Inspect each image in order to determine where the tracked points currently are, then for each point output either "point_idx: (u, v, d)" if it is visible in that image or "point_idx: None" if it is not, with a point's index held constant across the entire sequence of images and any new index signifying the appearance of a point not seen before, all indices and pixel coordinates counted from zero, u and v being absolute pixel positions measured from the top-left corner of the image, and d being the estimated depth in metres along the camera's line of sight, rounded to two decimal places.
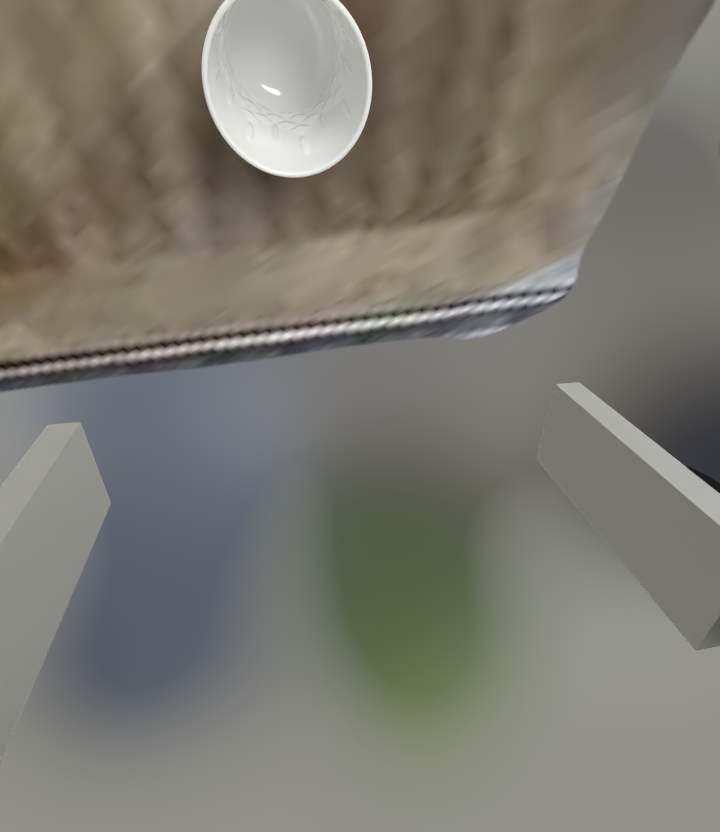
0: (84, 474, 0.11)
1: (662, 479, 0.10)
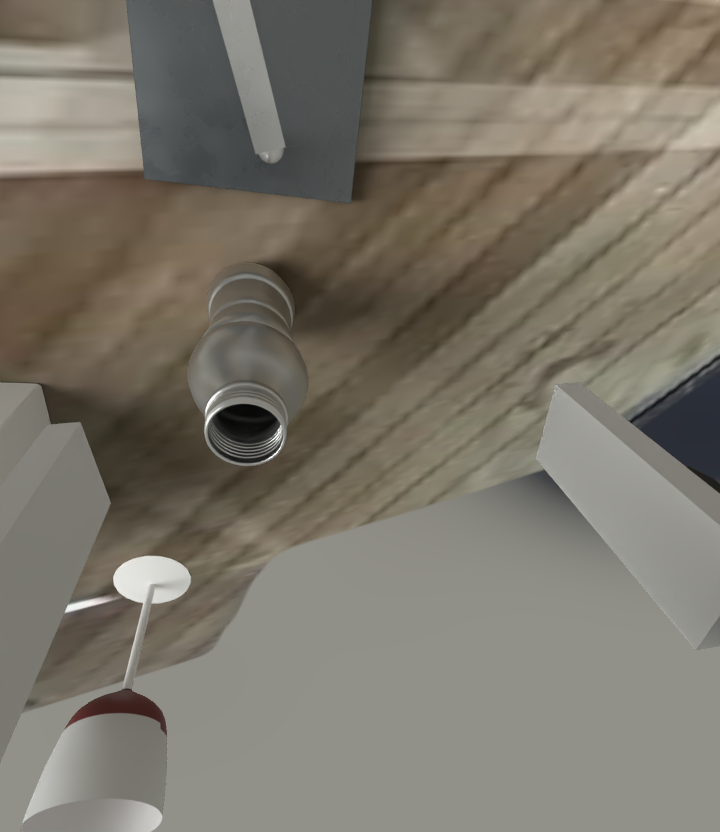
0: (84, 474, 0.11)
1: (662, 479, 0.10)
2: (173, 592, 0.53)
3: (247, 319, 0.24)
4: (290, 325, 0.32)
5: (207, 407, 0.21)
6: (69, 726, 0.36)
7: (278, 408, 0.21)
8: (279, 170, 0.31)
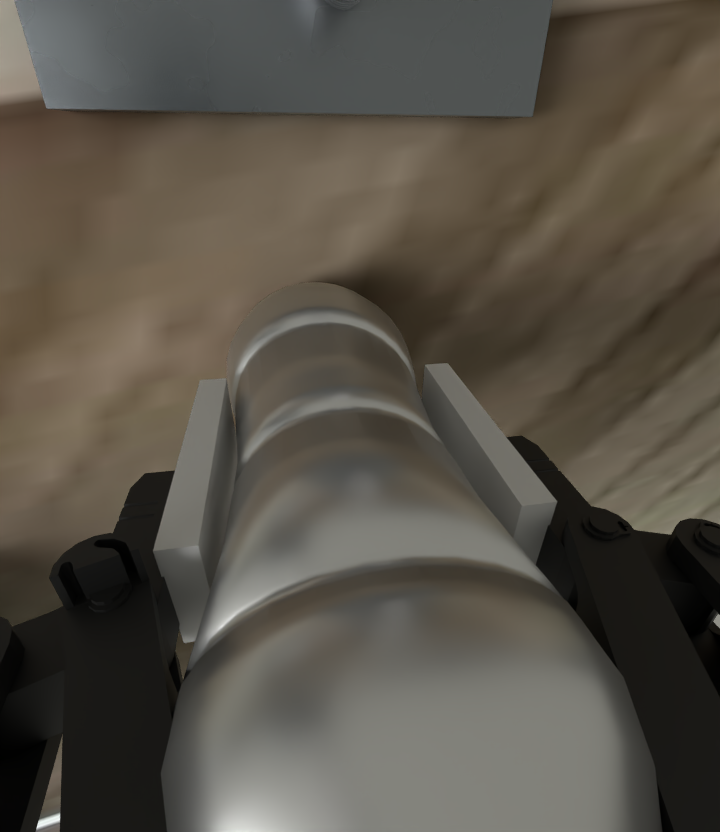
0: (230, 422, 0.13)
1: (478, 443, 0.11)
2: None
3: (385, 544, 0.06)
4: None
5: None
6: None
7: None
8: (370, 47, 0.13)
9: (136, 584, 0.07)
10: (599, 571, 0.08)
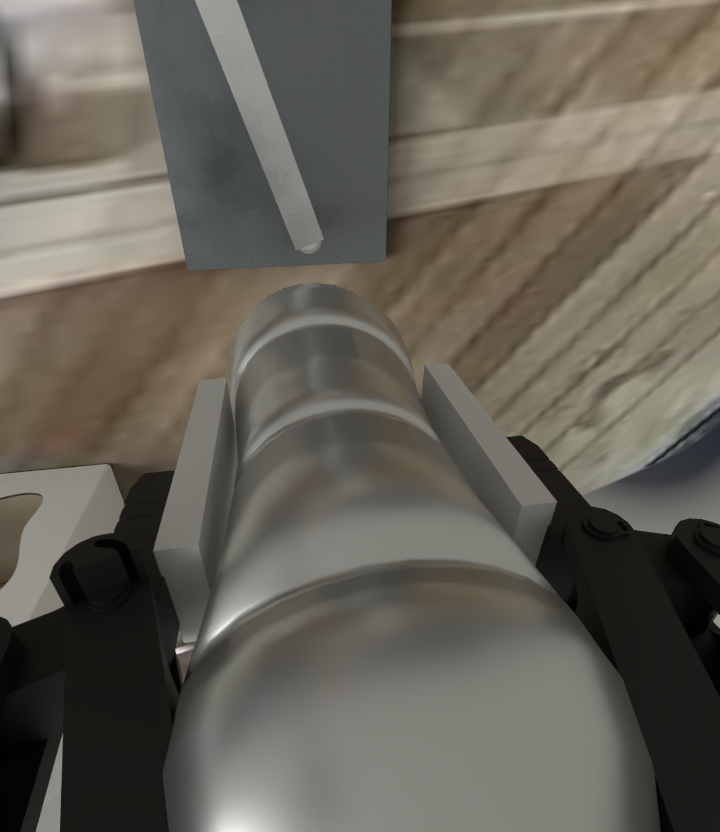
0: (230, 422, 0.13)
1: (478, 443, 0.11)
2: None
3: (385, 546, 0.06)
4: None
5: None
6: None
7: None
8: None
9: (136, 584, 0.07)
10: (599, 571, 0.08)
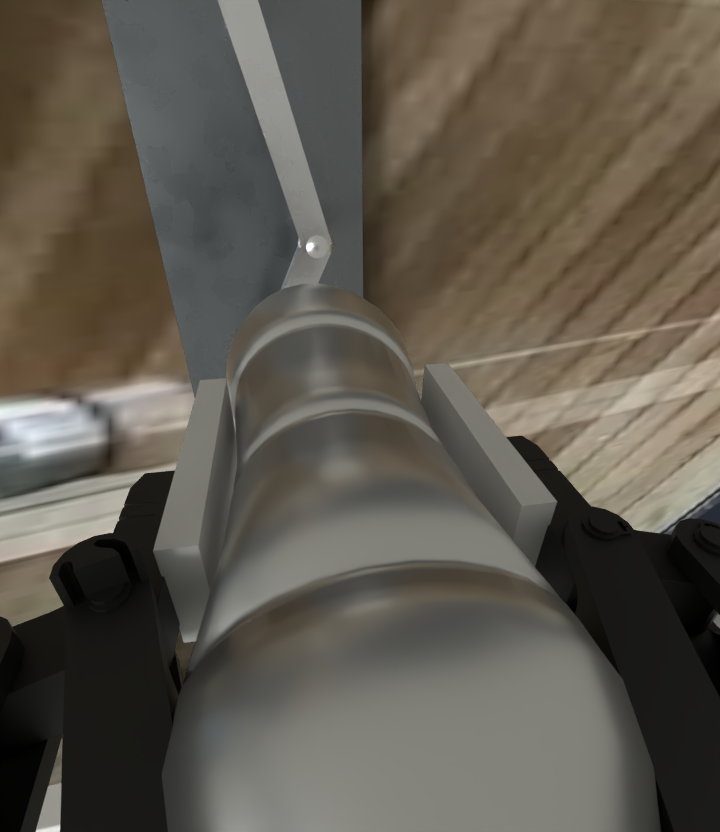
0: (230, 422, 0.13)
1: (478, 443, 0.11)
2: None
3: (385, 547, 0.06)
4: None
5: None
6: None
7: None
8: None
9: (136, 584, 0.07)
10: (599, 571, 0.08)
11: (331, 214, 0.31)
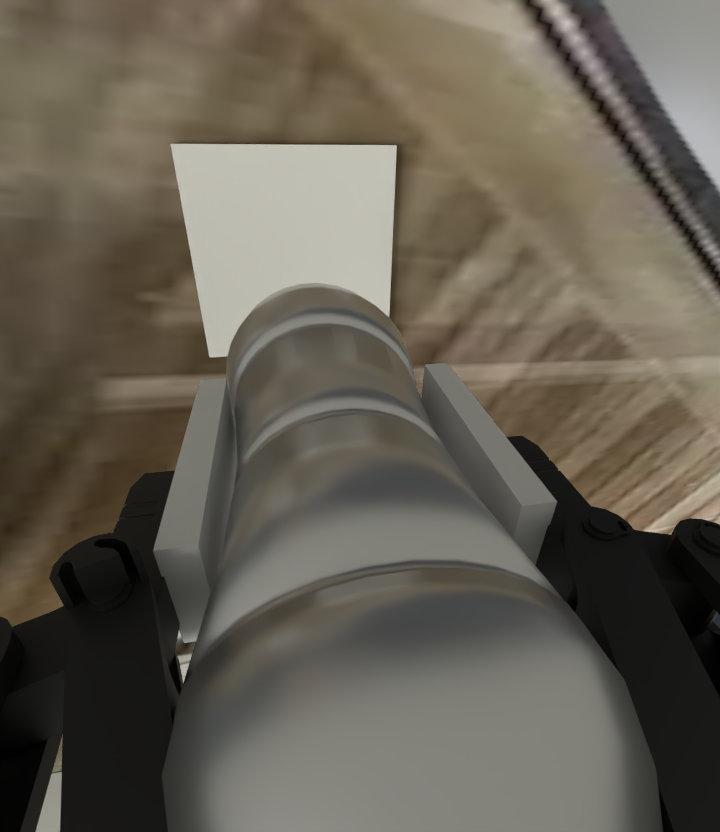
0: (230, 422, 0.13)
1: (478, 443, 0.11)
2: None
3: (386, 546, 0.06)
4: None
5: None
6: None
7: None
8: None
9: (136, 584, 0.07)
10: (599, 571, 0.08)
11: None
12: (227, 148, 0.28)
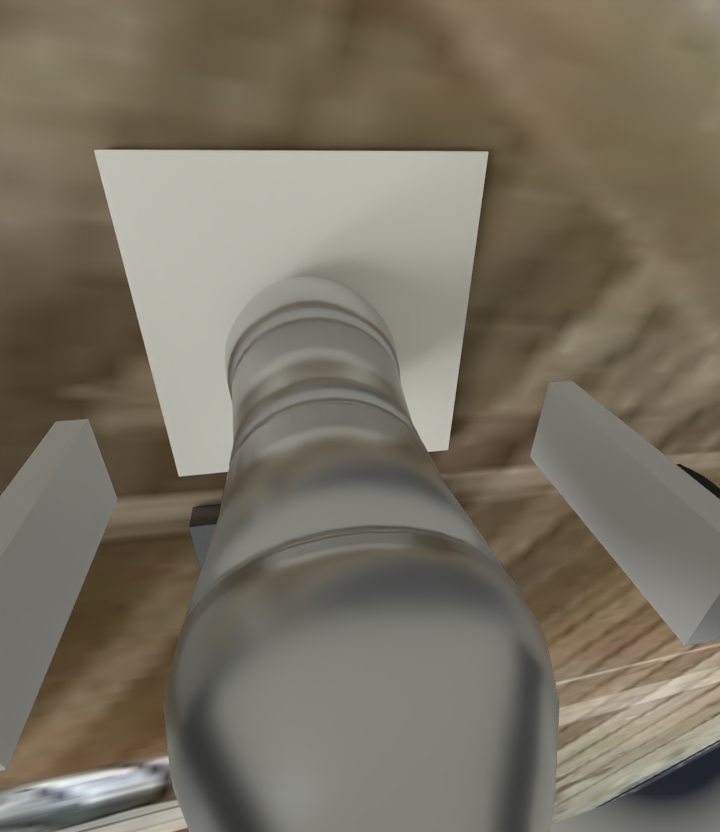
0: (92, 470, 0.11)
1: (652, 476, 0.10)
2: None
3: (347, 514, 0.07)
4: None
5: None
6: None
7: None
8: None
9: None
10: None
11: None
12: (197, 157, 0.16)
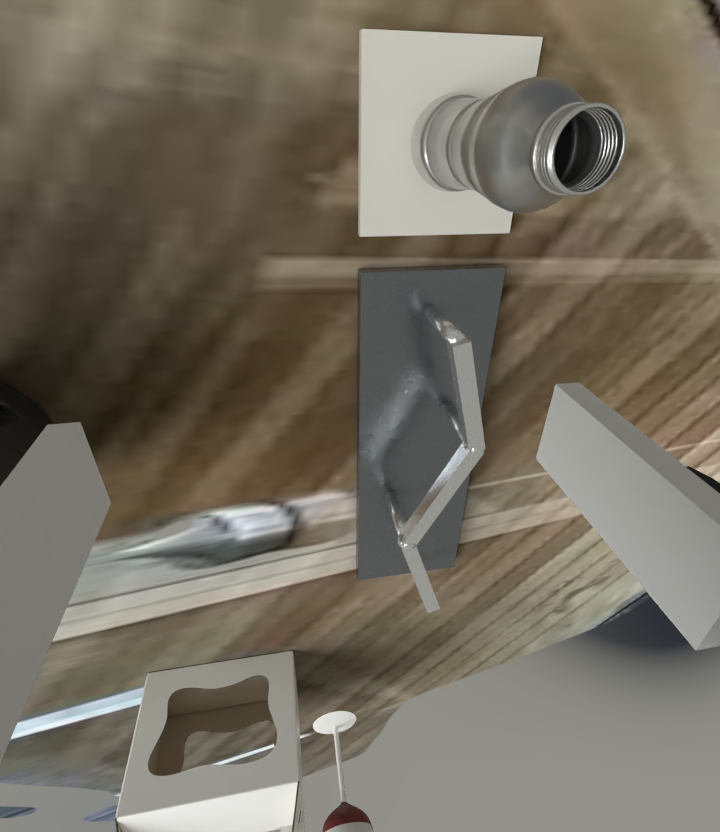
0: (84, 474, 0.11)
1: (662, 479, 0.10)
2: (345, 727, 0.87)
3: None
4: None
5: (539, 134, 0.21)
6: (328, 830, 0.70)
7: None
8: None
9: None
10: None
11: None
12: (406, 34, 0.33)
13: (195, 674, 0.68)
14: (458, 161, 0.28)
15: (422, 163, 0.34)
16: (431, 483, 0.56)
